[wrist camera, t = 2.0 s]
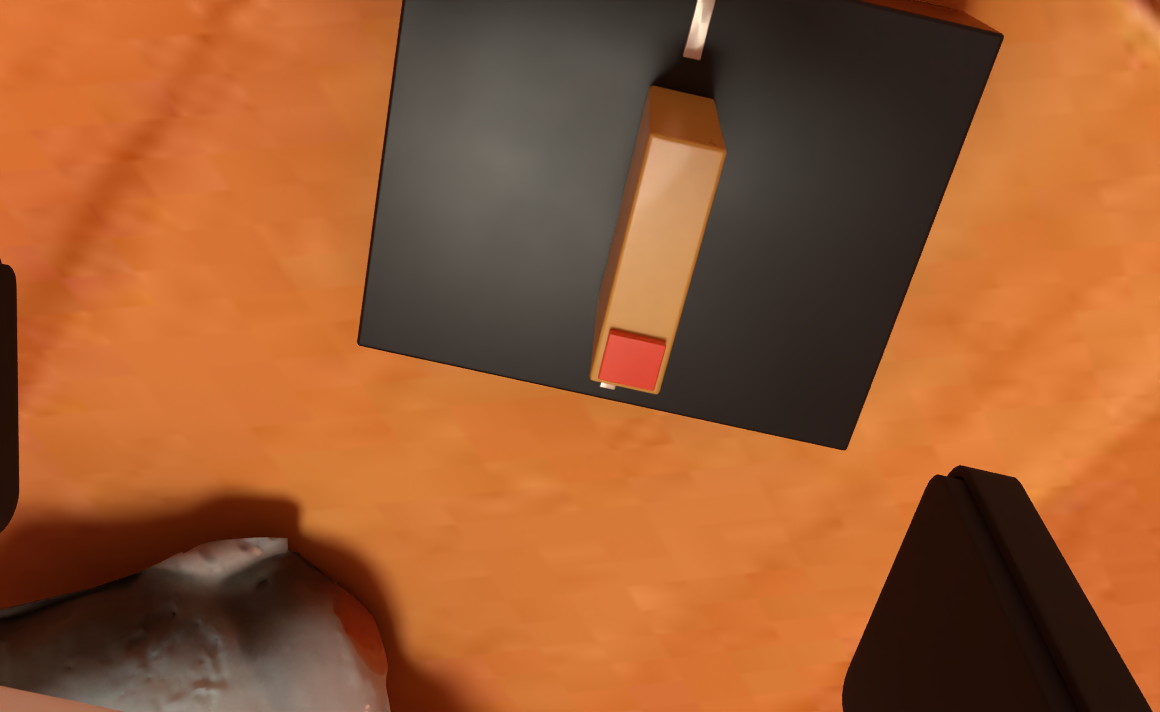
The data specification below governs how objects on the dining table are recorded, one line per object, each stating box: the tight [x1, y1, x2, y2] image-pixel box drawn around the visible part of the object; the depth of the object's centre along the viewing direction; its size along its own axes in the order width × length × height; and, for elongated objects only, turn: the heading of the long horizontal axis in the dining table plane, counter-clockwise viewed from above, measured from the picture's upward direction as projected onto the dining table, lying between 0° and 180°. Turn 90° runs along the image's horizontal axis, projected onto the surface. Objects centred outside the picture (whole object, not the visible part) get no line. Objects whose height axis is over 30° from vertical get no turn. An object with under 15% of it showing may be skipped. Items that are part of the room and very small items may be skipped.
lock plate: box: [357, 0, 1004, 450], centre depth 25 cm, size 10×12×3 cm
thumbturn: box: [590, 86, 727, 394], centre depth 21 cm, size 5×1×4 cm, turn 168°
